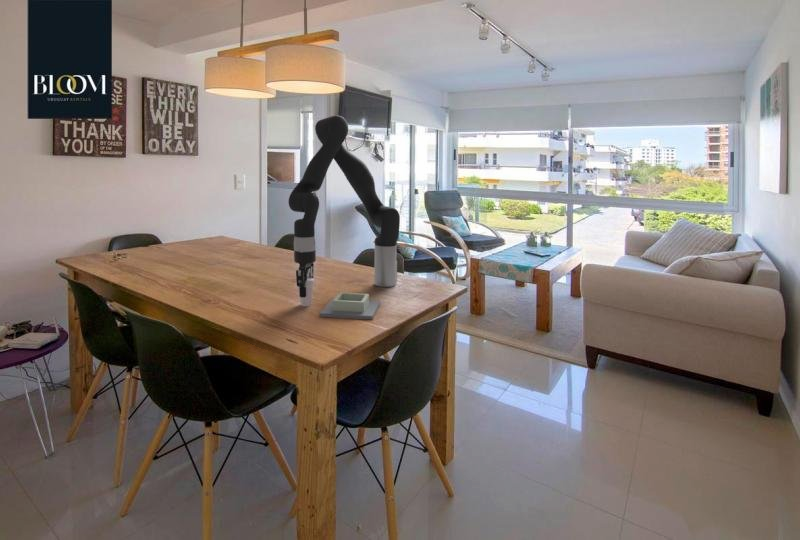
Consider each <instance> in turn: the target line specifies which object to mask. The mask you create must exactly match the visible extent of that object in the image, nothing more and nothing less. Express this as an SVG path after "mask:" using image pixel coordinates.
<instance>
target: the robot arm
mask: <svg viewBox="0 0 800 540" xmlns="http://www.w3.org/2000/svg"><path fill="white" fill-rule="evenodd" d="M348 125H349V124H348V122H347V120H346V119H345V117H343V116H342V115H339V114H338V115H337V114H336V115H331V116H328V117H324V118H322V119H320V120H318V121H317V122H316V123H315V126H314V128H315V129H314V130H315V134H316V136H317V139H318V141H319V142H320V143H321V144H322V145H321V147H320V148H319V149H318V151H317V152H316V153H315V154H314V156H313V157H312V158H311V160H310V161H309V163H308V165H307V166H306V168H305V171H304V173H303V175H302V178H301V179H300V180H299V182H298V183H297V184H296V186H295V187H294V189H293V190H292V191H291V193H290V194H289V197H288V207H289V209H291V210H292V211H293V212H295V213H296V212H297V213H304V216H303V217H302V218H299V219H296V220H295V221H294V222H293V223H294V225H293V228H294V229H293V232H294V233H293V234H294V236H293V237H294V238H293V261H294V262H295V263H296V264H299V267H298V269H296V270H295V278H296V287H298V286H299V290H298V293H299V292H300V296H299V298H300V297H306V281H308V278H314V279H315V277H314V272H315V271H314V267H315V266H314V265H315V264H314V263H315V262H316V261H317V260H316V259H317V256H316V252H317V250H316V248H317V247H316V239H315V236H316V235H315V233H316V232H315V231H316V230H315V225H316V224H315V223H316V221H317V217H318V212H319V209H320V200H319V197H318V195H317V194H316V193H314V192H317V191H319V190H320V189H321V187H322V185H323V182H324V180H325V177H326V174H327V172H328V171H329V170H328V169H329V168H330V165H331V164H332V162H333V160H334V161H335V163H336V164H337V166H338V167H339V168H340V170H341V172H342V173H343V174H344V176H345V179H346V181H348V183H349V185H350V186H351V187H352V189H353V190H354V193H355V194H356V195H357V198H358V199H359V200H360V201H361V202H362V204H363V206H364V208H365V210H366V212H367V214H368V216H369V219H370V220H371V222H372V224H373V225H374V226H375V227H377V228H379V229H380V234H379V236H376V237H375V239H374V270H373V271H374V273H373V275H374V277H373V278H374V281H373V283H374V284H373V285H374V286H376V287H381V288H385V287H386V288H391V287H395V286H396V284H398V283H397V282H398V280H397V279H398V278H397V277H398V261H397V248H398V245H397V244H398V243H397V242H398V239H399V236H400V226H401V217H400V213H399V211H398V210H397V208H395V207H393V206H387V205H386V206H385V205H384V203H383V202H382V201H381V200H380V198H379V196H378V195H377V192H376V185H375V179H374V176H373V175H372V173H371V171H370V169H369V168H368V166H367V164H366V163H365V162H364V161H363V160H362V159H361V158H359V157H357V156H356V155H355V154H354V153H352V152H351V151H349V150H348V149H347V148H346V147H345V146H344V144H343V143H344V142H345V139H346V138H347V136H348V134H349V126H348ZM301 281H302V283H301Z"/></svg>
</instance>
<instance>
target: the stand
mask: <svg viewBox="0 0 800 540" xmlns="http://www.w3.org/2000/svg"><path fill="white" fill-rule="evenodd" d="M380 306H381V300H370V293H359V292H358V293H355V292H339V293H337V295H336V296H335V298H332V299H331V300H330V301H329V302H328V303H327V304H326V305H325V307H324V308H323V309H322V310H321V311H320V312H319V317H322V318H337V319H339V318H340V319H341V318H342V319H357V320H373V319H374V318H375V315H376V314H377V312H378V309H379V307H380Z"/></svg>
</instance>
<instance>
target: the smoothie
mask: <svg viewBox="0 0 800 540" xmlns="http://www.w3.org/2000/svg"><path fill="white" fill-rule="evenodd" d="M301 283H302V281H301ZM314 283H315V277H314V278H308V281H306V297H300V292H299V286H297V289H298V295H299V302H300V306H301V307H310V306H311V305H312V300H313V293H314V292H313V291H314Z"/></svg>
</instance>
